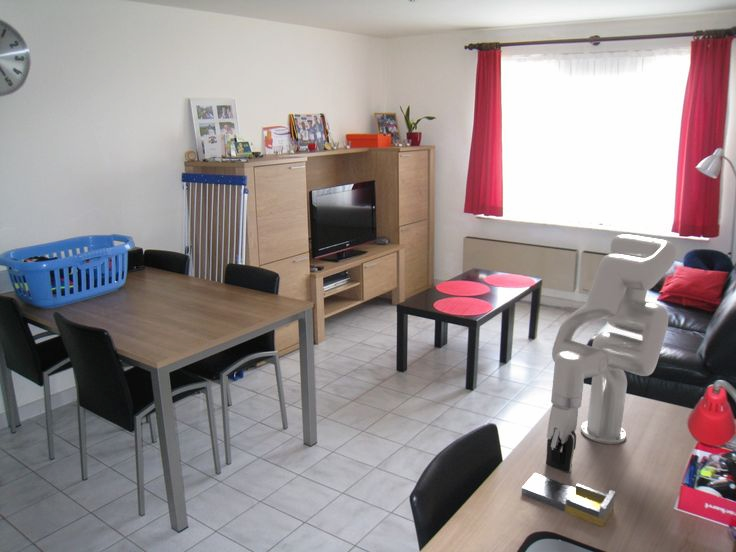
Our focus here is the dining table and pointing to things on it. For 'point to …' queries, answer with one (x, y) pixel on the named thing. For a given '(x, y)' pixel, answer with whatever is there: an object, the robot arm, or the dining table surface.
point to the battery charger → (568, 454)
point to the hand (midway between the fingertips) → (560, 458)
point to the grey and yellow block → (571, 498)
